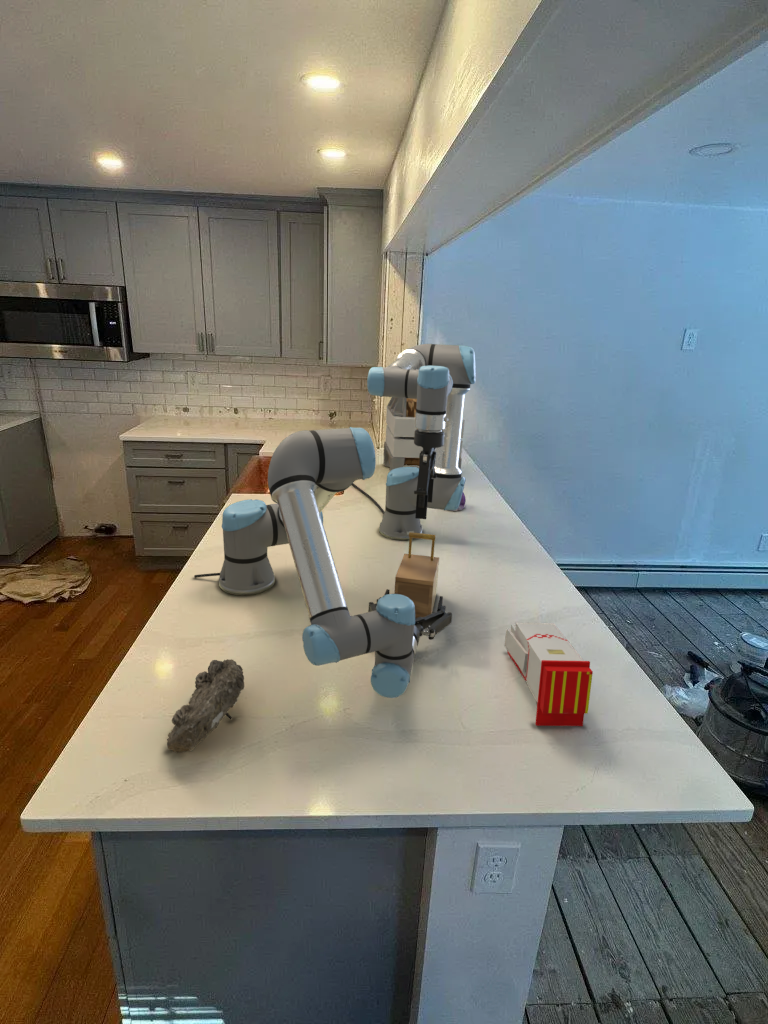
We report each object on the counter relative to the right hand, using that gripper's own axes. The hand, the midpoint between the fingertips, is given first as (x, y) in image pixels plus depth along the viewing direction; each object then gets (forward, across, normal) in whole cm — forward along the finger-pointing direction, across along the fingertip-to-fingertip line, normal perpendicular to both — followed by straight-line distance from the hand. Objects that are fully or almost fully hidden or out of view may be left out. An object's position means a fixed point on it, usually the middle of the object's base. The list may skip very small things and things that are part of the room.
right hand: (424, 509), depth 149 cm
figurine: (+25, +78, -5) cm, 82 cm away
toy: (+25, -33, -31) cm, 51 cm away
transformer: (+25, +124, +15) cm, 128 cm away
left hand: (+19, -12, 0) cm, 23 cm away
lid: (+15, -5, 0) cm, 16 cm away
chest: (+25, -5, 0) cm, 26 cm away
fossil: (+25, -59, +32) cm, 72 cm away
